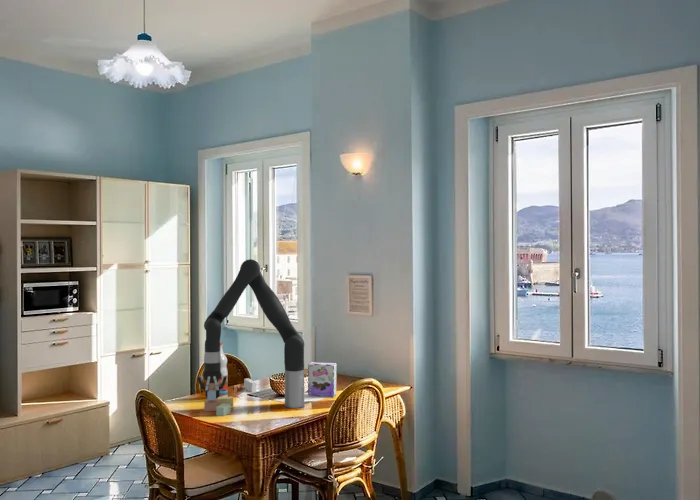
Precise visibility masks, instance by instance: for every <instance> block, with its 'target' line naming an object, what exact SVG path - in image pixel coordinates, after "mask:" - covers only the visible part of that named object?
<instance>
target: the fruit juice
mask: <svg viewBox="0 0 700 500" xmlns="http://www.w3.org/2000/svg"><path fill="white" fill-rule="evenodd" d="M223 347H224V343H223V342H221V341H220V355H221V374H222V375H224V376H227V379H226V382H225V384H224V387H223V389H220V390H219V397H229V396H228V394H229V393H228V390H229V389H228V387H229V386H228V384H229V383H228V380H229V379H228V375H229V374H228V373H229V372H228V367H227V365H228V358H227V356H226V355H225V352H224V350H223ZM218 382H219V386H221V384H222V382H223V380H222V377H221V378H220V379H219V380H218ZM209 390H216V386H215V383H210V385H209ZM219 397H218V398H219ZM216 400H217V399H216ZM209 401H215V400H209Z"/></svg>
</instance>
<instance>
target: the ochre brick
mask: <svg viewBox="0 0 700 500" xmlns="http://www.w3.org/2000/svg"><path fill="white" fill-rule="evenodd" d="M217 400H220V405H221V404H223V403H228V404H231V407H234V397H233V396H228V397H219V398H217Z"/></svg>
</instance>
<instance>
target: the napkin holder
mask: <svg viewBox="0 0 700 500" xmlns="http://www.w3.org/2000/svg"><path fill="white" fill-rule="evenodd" d="M243 381H244V382H243V383H244V385H243V387H244V389H245V390H246V391H248V392H250V393H255V392H257V382H256V381H253V379H251V378H249V377H248V378H244V379H243Z"/></svg>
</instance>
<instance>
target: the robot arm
mask: <svg viewBox="0 0 700 500" xmlns="http://www.w3.org/2000/svg"><path fill="white" fill-rule="evenodd" d="M248 286H249V287H250V288H251V290H252V291H253V294H254V295H255V298H256V299H257V303H258V304H259V306H260V308H261V310H262V312H263V314H264V316H265V317H266V318H267V320H268V321H269V322H270V324H272V326H273V327H274V328H275V329H276V330H277V331H278V333H279V335H280V337H281V339H282V341H283V343H284V346H283V347H284V351H283V352H284V353H283V354H284V407H285V408H288V409H289V408H291V409H297V408H304V407H305V341H304V339H303V338H302V336H301V335H300V333H299V332H298V331H297V330H296V328H295V326H294V325H293V324H292V322H291V320H290V318H289V316H288V313H287V312H286V309H285V307H284V305H283V304H282V303H281V301H280V299H279V297H278V296H277V294H276V293H275V292H274V291H273V290H272V288H271V287H270V286H269V285H268V284H267V282H266V281H265V279H264V277H263V275H262V273H261V267H260V264H259V262H258V261H257V260H256V259H251V258H249V259H245V260H244V261H243V262H242V263H241V264H240V268H239V271H238V273H237V276H236V278H235V279H234V281H233V282H232V284H231V285H230V286H229V288H228V289H227V290H226V292H225V293H224V294H223V296H222V298H221V299H220V300H219V302H218V303H217V305H216V306H215V308H214V309H213V311H211V312H210V314H209V315H208V316H207V318H206V319H205V321H204V324H203V328H204V330H205V340H204V355H203V375H200V376H198V377H197V381H198V384H199V386H200V388H201V390H204V391H205V398H207V391H209V385H210V383H215V386H216V398H218V397H219V390H220V389H223V387H224V384H225V382H226V379H227V376H224V375H222V374H221V355H220V342H221V333H222V322H223V321H224V320H225V318H227V317H228V316H229V315H230V313H231V312H232V311H233V309H234V308H235V307H236V305H237V303H238V301H239V299H240V298H241V297H242V294H243V293H244V292H245V290H246V288H247V287H248ZM221 377H222V380H223V382H222V384H221V386H219V382H218V380H219V379H220V378H221ZM203 380H205V381H206V383H205V384H204V381H203Z"/></svg>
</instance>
